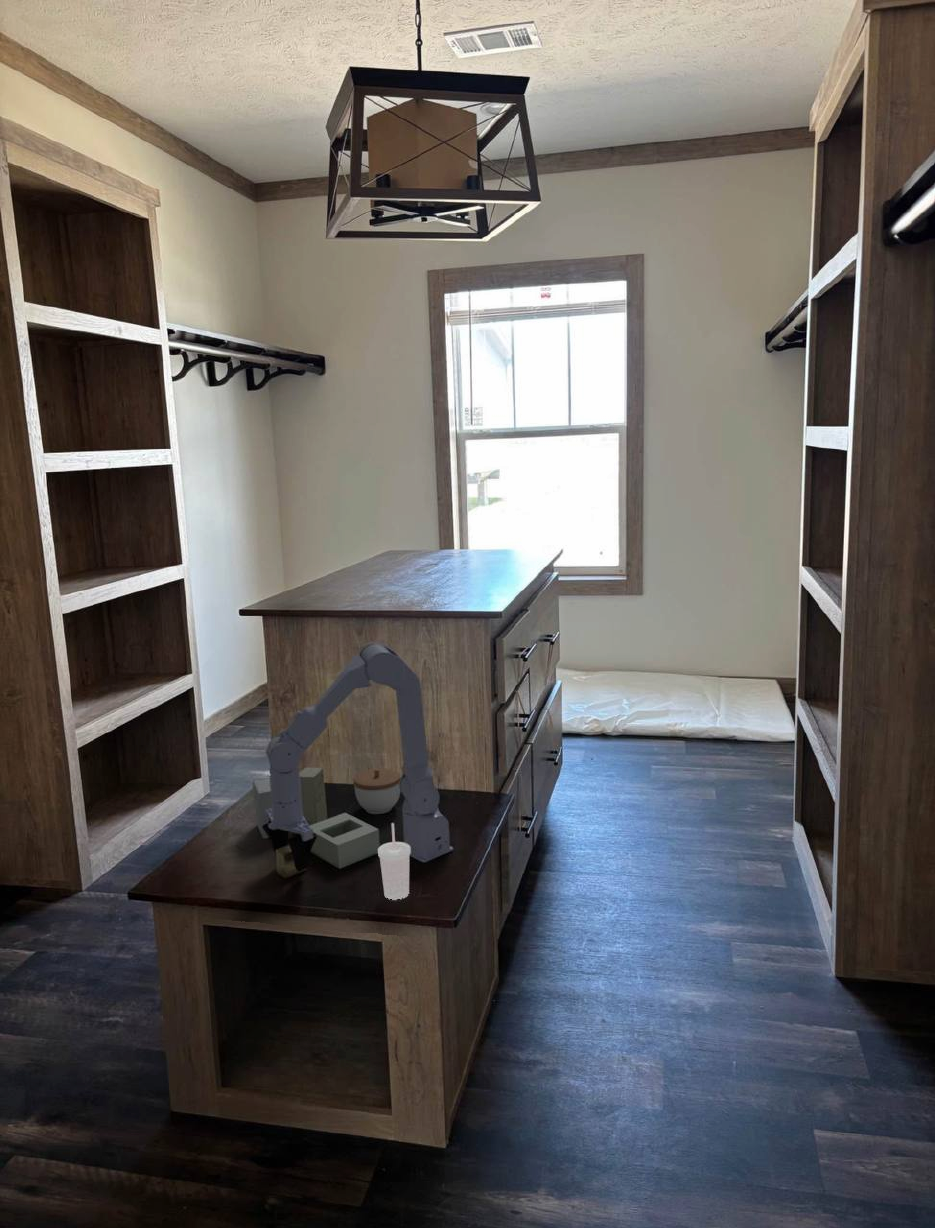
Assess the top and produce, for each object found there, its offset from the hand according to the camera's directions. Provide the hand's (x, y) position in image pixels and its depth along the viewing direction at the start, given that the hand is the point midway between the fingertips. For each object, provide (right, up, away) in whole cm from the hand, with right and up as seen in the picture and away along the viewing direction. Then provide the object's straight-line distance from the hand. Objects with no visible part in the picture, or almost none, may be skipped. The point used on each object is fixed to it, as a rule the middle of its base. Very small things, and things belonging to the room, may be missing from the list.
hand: (291, 863), depth 177 cm
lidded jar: (+14, +4, +29) cm, 32 cm away
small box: (-8, +2, +20) cm, 21 cm away
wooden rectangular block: (0, -2, 0) cm, 2 cm away
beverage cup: (+22, -3, -10) cm, 24 cm away
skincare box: (+1, +2, +22) cm, 22 cm away
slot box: (+9, 0, +8) cm, 12 cm away
